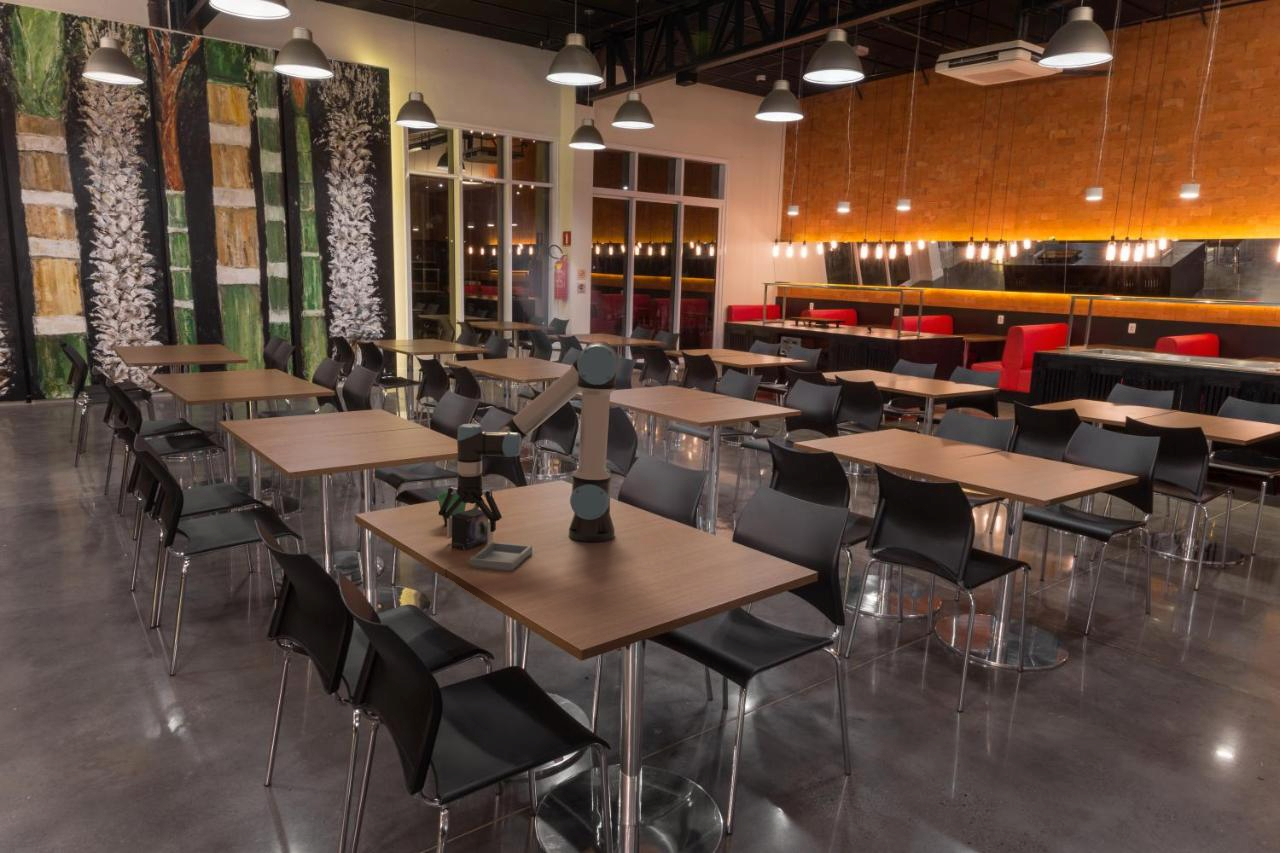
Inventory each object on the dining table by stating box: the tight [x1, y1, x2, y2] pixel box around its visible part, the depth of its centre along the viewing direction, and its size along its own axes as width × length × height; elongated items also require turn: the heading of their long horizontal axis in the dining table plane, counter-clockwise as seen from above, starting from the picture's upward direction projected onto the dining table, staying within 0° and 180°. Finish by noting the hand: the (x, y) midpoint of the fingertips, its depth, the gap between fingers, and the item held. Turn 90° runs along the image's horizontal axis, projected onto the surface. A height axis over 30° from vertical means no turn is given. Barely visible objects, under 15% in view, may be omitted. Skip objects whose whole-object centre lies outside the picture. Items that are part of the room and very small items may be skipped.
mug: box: [437, 492, 480, 520], centre depth 288 cm, size 15×10×10 cm
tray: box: [469, 541, 533, 573], centre depth 253 cm, size 13×17×2 cm
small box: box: [451, 508, 489, 551], centre depth 266 cm, size 11×6×10 cm, turn 148°
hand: (470, 539), depth 266 cm, fingers open, 13 cm apart
